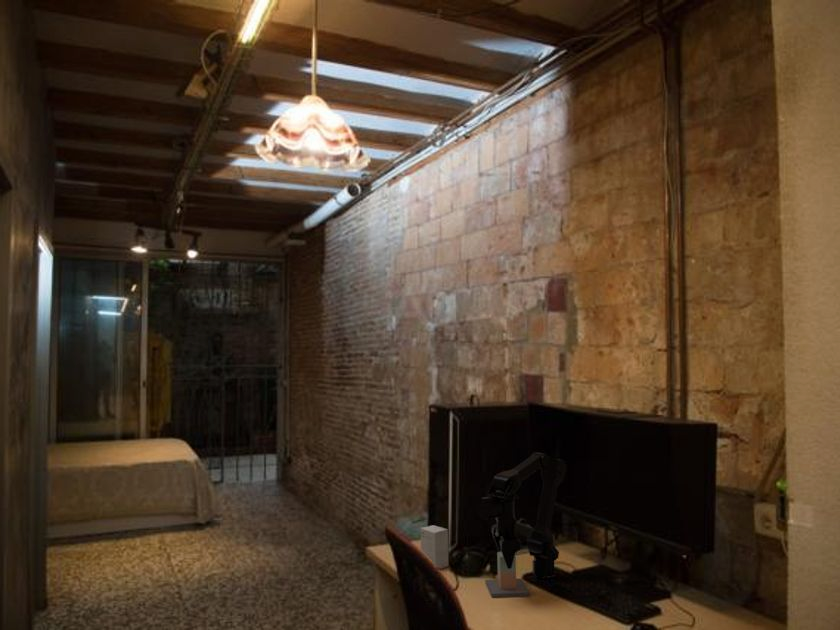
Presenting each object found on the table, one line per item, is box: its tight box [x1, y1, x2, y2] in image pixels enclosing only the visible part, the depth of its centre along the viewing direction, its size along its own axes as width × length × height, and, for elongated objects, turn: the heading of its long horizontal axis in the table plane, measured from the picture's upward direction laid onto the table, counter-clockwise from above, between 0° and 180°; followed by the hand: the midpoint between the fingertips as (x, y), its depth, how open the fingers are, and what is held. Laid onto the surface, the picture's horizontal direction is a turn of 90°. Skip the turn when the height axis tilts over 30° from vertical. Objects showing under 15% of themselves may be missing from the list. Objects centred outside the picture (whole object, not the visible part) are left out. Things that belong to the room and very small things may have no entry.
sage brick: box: [496, 551, 517, 573], centre depth 207 cm, size 5×5×5 cm
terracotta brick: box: [497, 568, 517, 589], centre depth 207 cm, size 5×5×5 cm
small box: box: [420, 524, 449, 570], centre depth 231 cm, size 8×6×13 cm
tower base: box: [484, 577, 531, 599], centre depth 207 cm, size 12×12×1 cm
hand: (506, 563), depth 207 cm, fingers open, 9 cm apart
